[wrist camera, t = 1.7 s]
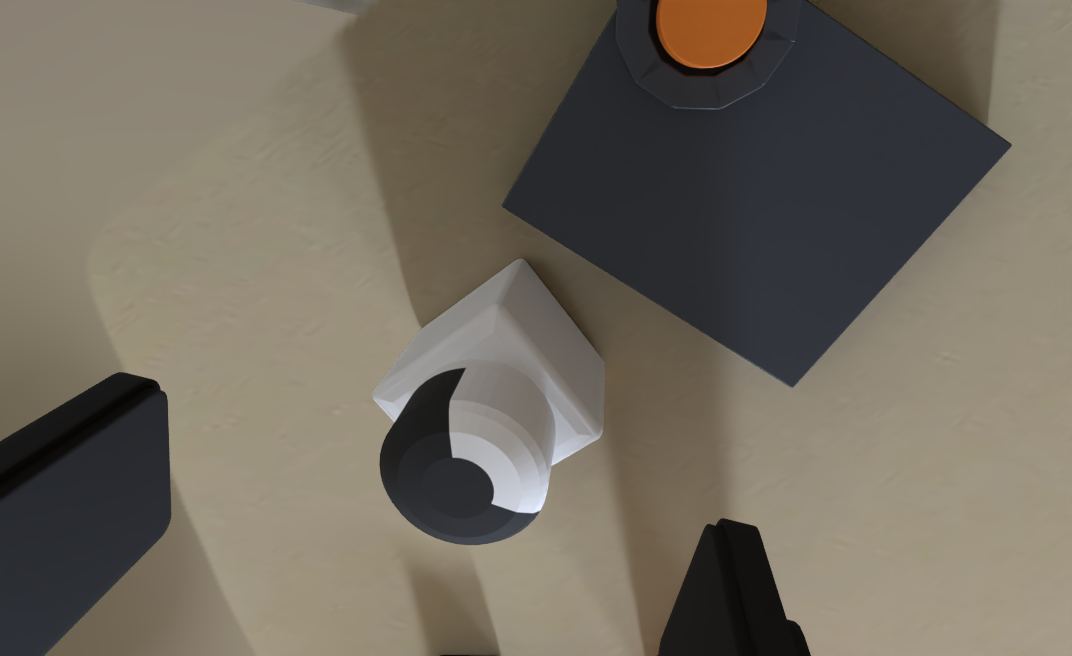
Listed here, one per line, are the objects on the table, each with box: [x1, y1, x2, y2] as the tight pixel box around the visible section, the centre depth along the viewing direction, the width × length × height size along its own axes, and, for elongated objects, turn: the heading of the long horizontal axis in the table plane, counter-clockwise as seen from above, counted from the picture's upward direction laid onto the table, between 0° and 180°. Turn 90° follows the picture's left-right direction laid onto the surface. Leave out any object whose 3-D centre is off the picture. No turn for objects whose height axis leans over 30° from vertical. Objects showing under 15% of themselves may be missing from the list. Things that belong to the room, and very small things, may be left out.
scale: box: [502, 0, 1012, 388], centre depth 26 cm, size 16×14×4 cm
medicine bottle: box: [373, 259, 605, 545], centre depth 27 cm, size 7×7×12 cm
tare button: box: [656, 0, 767, 68], centre depth 22 cm, size 4×4×2 cm
